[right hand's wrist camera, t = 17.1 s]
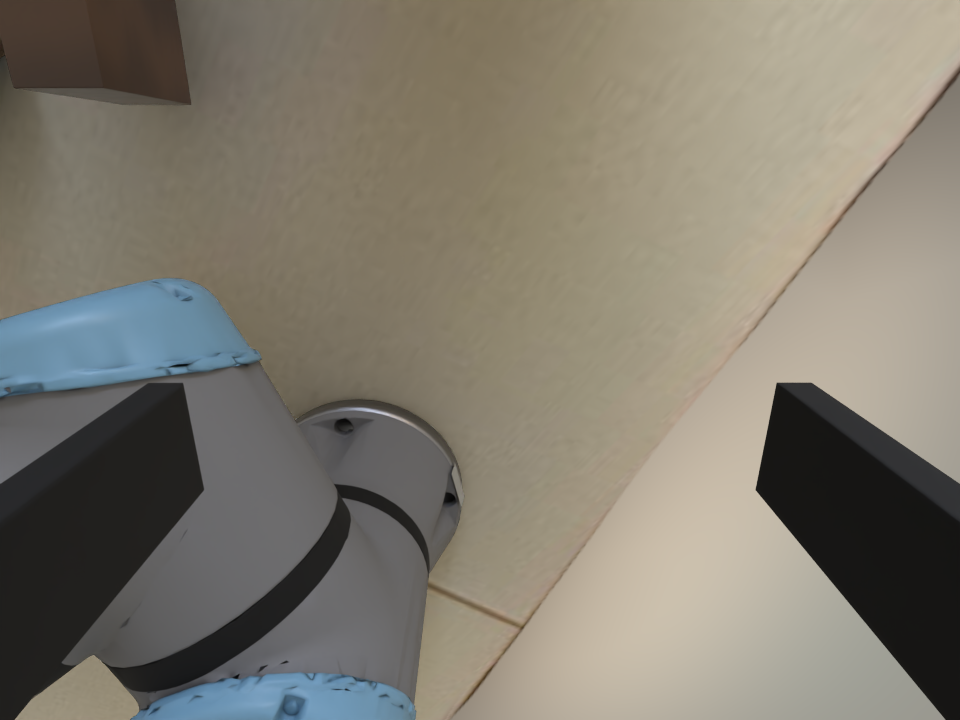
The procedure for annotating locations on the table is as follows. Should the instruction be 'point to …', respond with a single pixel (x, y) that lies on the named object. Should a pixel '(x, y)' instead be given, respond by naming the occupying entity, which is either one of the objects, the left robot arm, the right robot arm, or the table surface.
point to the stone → (1, 49)
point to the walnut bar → (96, 49)
